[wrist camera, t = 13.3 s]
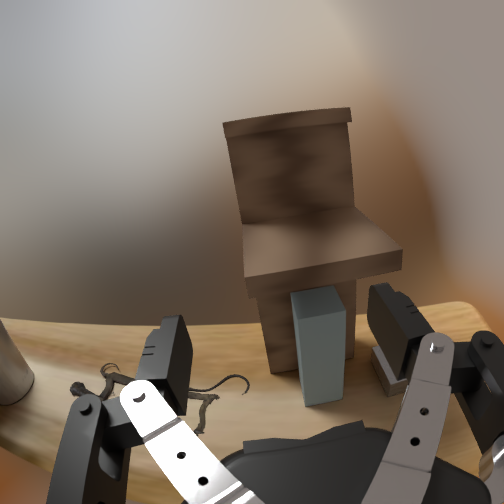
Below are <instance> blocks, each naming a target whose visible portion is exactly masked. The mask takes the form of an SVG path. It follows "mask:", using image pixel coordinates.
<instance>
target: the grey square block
mask: <svg viewBox="0 0 504 504" xmlns="http://www.w3.org/2000/svg"><path fill="white" fill-rule="evenodd" d="M371 362H372V364H373V366H374V368H375V370H376V373H377V375H378V377H379V379H380V381H381V383H382V386H383V388H384V390H385V392H386V394H387V397H391V396H394V395H397V394H400V393H403V392H405V391H406V388H407V385H408V381H407V379H402V380H399V381H397V380H396V378H395V376H394V374H393V372H392V370H391V368H390V366H389V364H388V362H387V360H386V358H385V356H384V354H383V352H382V350H381V348H380V346H375V347H372V353H371Z"/></svg>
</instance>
